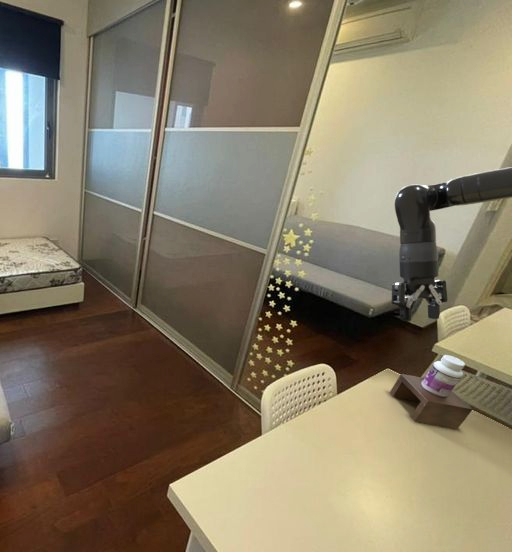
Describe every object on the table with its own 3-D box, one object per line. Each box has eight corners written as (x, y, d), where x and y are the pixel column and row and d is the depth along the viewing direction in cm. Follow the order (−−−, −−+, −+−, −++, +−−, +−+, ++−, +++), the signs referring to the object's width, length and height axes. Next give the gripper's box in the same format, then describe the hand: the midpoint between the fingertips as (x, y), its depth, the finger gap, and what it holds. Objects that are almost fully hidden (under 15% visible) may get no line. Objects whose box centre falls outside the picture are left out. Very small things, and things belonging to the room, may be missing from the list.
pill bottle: (421, 379, 85) (440, 350, 81) (447, 391, 82) (469, 361, 78) (419, 388, 82) (439, 358, 78) (447, 401, 78) (469, 370, 75)
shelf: (427, 400, 89) (440, 380, 86) (457, 429, 80) (473, 409, 77) (388, 393, 90) (400, 373, 87) (414, 421, 81) (428, 401, 78)
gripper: (409, 260, 81) (411, 323, 82) (457, 258, 83) (459, 319, 83) (381, 261, 89) (383, 319, 89) (426, 259, 91) (427, 315, 91)
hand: (419, 319), depth 86 cm, fingers open, 8 cm apart
